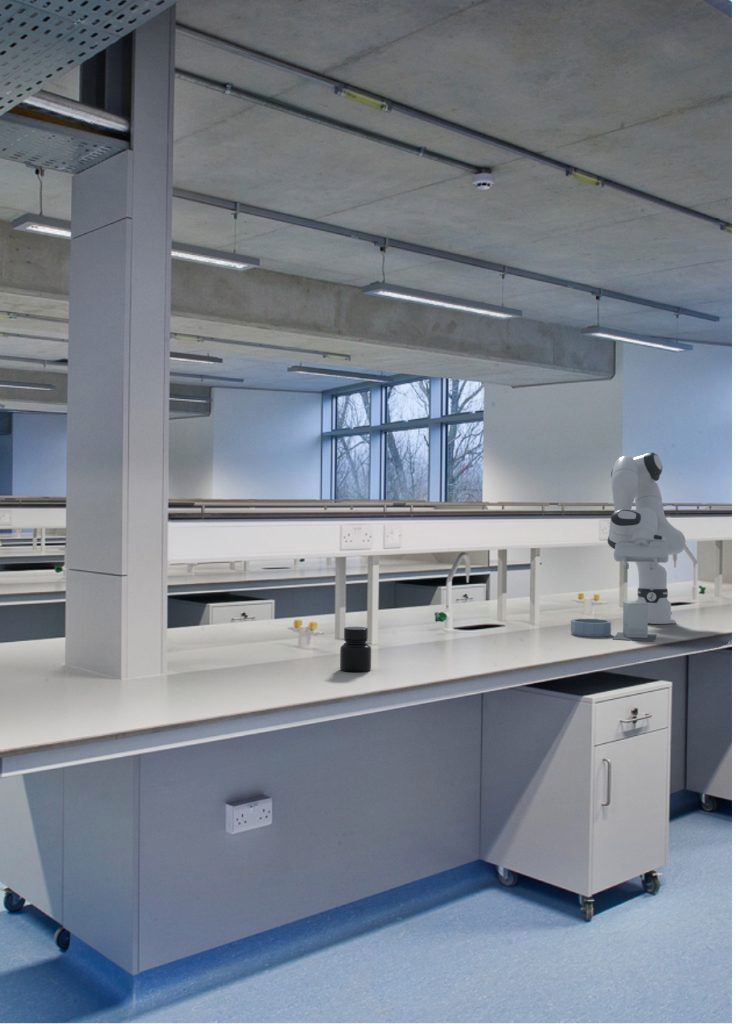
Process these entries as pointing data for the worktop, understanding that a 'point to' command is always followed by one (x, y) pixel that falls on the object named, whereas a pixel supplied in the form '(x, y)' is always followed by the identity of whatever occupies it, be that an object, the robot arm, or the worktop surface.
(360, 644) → the ink bottle
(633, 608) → the supplement box
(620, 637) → the mat
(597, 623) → the bowl
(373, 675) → the worktop surface
